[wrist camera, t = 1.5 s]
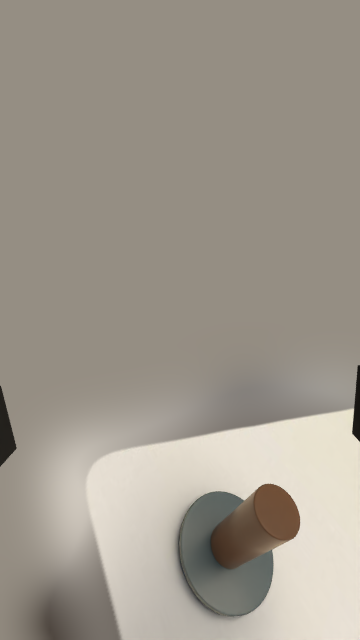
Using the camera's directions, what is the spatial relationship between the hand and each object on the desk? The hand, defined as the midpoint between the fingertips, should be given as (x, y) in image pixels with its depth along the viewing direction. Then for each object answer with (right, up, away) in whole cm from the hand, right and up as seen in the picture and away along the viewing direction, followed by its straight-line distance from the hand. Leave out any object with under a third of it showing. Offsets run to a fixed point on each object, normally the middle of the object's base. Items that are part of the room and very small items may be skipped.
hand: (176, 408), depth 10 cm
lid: (+3, -12, +8) cm, 15 cm away
